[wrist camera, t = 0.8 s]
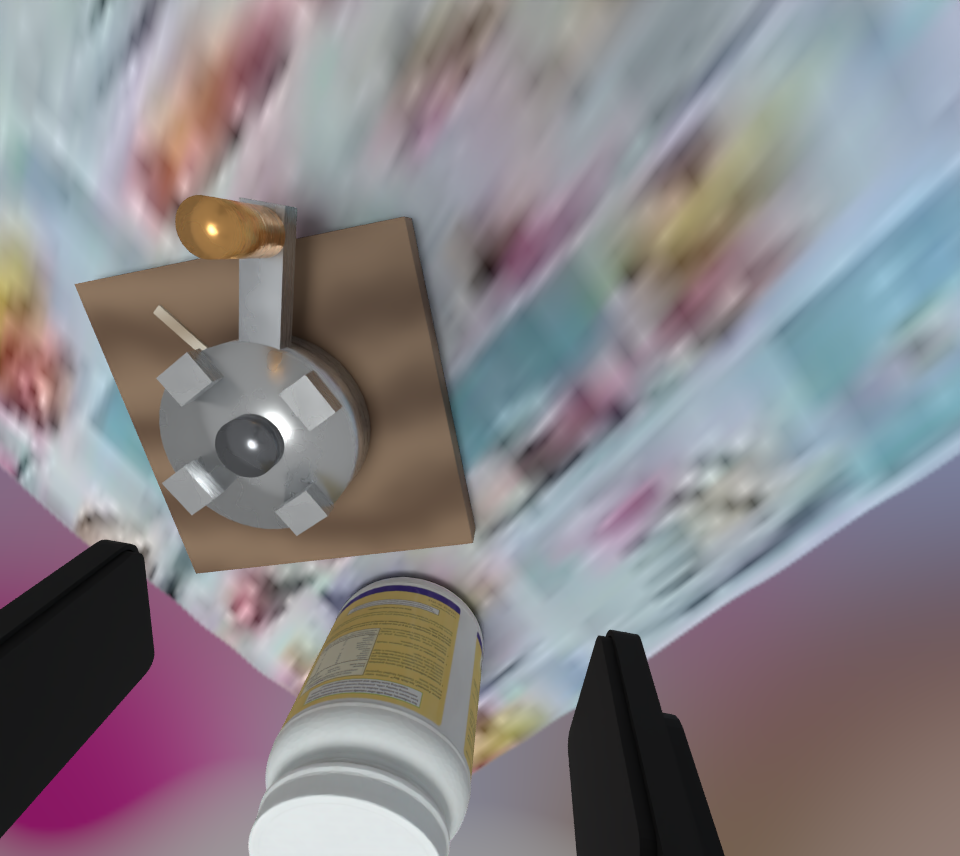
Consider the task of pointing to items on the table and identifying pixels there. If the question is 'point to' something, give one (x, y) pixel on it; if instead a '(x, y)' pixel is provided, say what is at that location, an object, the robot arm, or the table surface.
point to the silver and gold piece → (259, 387)
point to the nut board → (351, 341)
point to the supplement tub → (379, 731)
